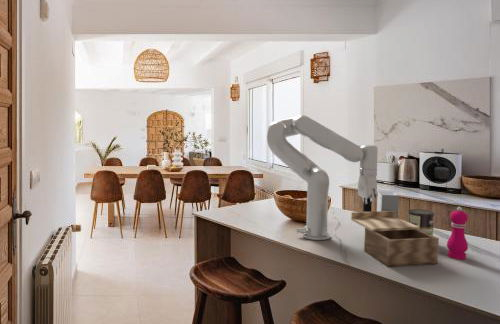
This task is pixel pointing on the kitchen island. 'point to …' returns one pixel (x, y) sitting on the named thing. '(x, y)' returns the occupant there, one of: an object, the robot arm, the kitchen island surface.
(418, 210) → the coffee can
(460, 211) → the pepper mill
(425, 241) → the walnut box
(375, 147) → the robot arm
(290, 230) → the kitchen island surface
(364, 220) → the box lid
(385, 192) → the hard drive box
